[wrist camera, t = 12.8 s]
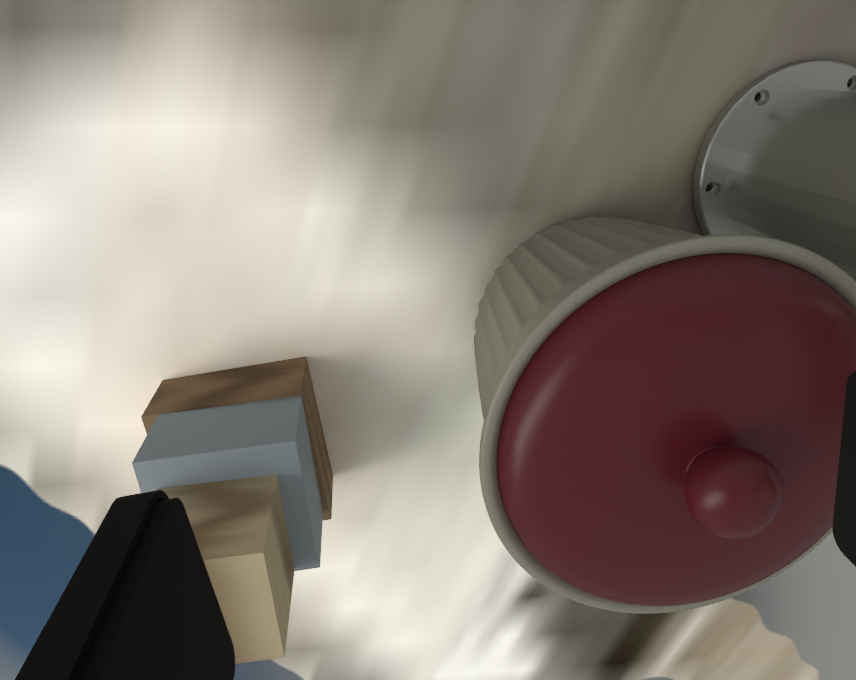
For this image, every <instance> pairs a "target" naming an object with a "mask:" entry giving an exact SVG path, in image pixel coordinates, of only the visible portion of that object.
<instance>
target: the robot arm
mask: <svg viewBox="0 0 856 680" xmlns="http://www.w3.org/2000/svg"><path fill="white" fill-rule="evenodd" d="M756 94H757V97H756V99H754V98H755V95H756ZM708 184H709V188H708V189H707V190H706V187H707V185H708ZM693 198H694V206H695V213H696V216H697V219H698V222H699V225H700V227H701V230H702V231H703V233H704V235H717V234H745V235H756V236H763V237H769V238H774V239H778V240H782V241H786V242H789V243H792V244H795V245H798V246H800V247H803V248H805V249H808V250H810V251H812V252H814V253H816V254H818V255H820V256H822V257H824V258H826V259H827V260H829V261H831V262H832V263H834V264H835V265H837V266H838V267H840V268H841V269H842V270H843V271H845V272H846V273H847V274H848V275H849V276H851V277H852V278H853V279H854V280H855V281H856V67H854V66H852V65H850V64H846V63H841V62H835V61H830V60H811V61H804V62H797V63H791V64H788V65H785V66H783V67H780V68H777V69H774V70H771V71H770V72H768V73H766V74H764V75H763V76H761V77H759V78H757V79H756V80H754V81H752V82H751V83H750V84H749V85H747V86H746V87H745V88H744V89H743V90H741V91H740V92H739V93H738V94H737V95H735V96H734V97H733V99H732V100H731V101H730V102H729V103H728V104H727V105H726V107H725V108H724V109H723V110H722V111H721V112H720V113H719V115H718V117H717V118H716V120H715V121H714V123H713V125H712V126H711V128H710V129H709V131H708V133H707V135H706V137H705V140H704V142H703V145H702V147H701V149H700V152H699V155H698V159H697V163H696V167H695V172H694V183H693ZM833 535H834V538H835V541H836V543H837V545H838V547H839V549H840V550H841V551H842V552H843V554H844V555H845V556H846V557H847V558H848V559H849V560H850V561H851V562H852V563H853V564H854V565H855V566H856V372H853V373H852V374H850V376H849V377H848V380H847V385H846V395H845V405H844V415H843V425H842V435H841V445H840V455H839V465H838V475H837V485H836V495H835V505H834V516H833ZM234 672H235V652H234V646H233V643H232V640H231V637H230V634H229V631H228V628H227V626H226V623H225V620H224V617H223V614H222V611H221V609H220V606H219V603H218V600H217V597H216V595H215V592H214V589H213V586H212V583H211V580H210V578H209V575H208V572H207V569H206V566H205V564H204V561H203V558H202V555H201V552H200V549H199V547H198V544H197V541H196V538H195V535H194V532H193V530H192V527H191V524H190V521H189V518H188V516H187V513H186V510H185V507H184V505H183V503H182V501H181V500H180V499H179V498H172V499H169V497H168V496H167V494H166V493H165V492H164V491H162V490H156V491H151V492H146V493H140V494H135V495H129V496H124V497H120V498H117V499H116V500H115V501H114V502H113V504H112V505H111V507H110V509H109V511H108V513H107V514H106V516H105V518H104V520H103V522H102V523H101V525H100V527H99V529H98V531H97V533H96V534H95V536H94V538H93V540H92V542H91V543H90V545H89V547H88V549H87V551H86V553H85V554H84V556H83V558H82V560H81V562H80V564H79V565H78V567H77V569H76V571H75V572H74V574H73V576H72V578H71V580H70V582H69V583H68V585H67V587H66V589H65V591H64V592H63V594H62V596H61V598H60V600H59V602H58V603H57V605H56V607H55V609H54V611H53V612H52V614H51V616H50V618H49V620H48V622H47V623H46V625H45V626H44V628H43V630H42V632H41V634H40V635H39V637H38V639H37V641H36V643H35V645H34V646H33V648H32V650H31V652H30V653H29V655H28V657H27V659H26V661H25V663H24V665H23V666H22V668H21V670H20V672H19V673H18V675H17V677H16V679H15V680H233V678H234Z"/></svg>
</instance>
